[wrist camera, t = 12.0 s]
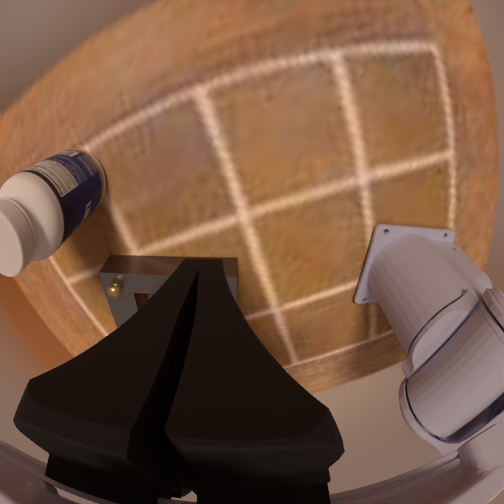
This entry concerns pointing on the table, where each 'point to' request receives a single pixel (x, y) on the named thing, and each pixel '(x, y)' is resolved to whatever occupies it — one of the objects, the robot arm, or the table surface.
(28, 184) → the pill bottle
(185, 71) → the table surface
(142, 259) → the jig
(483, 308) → the robot arm
